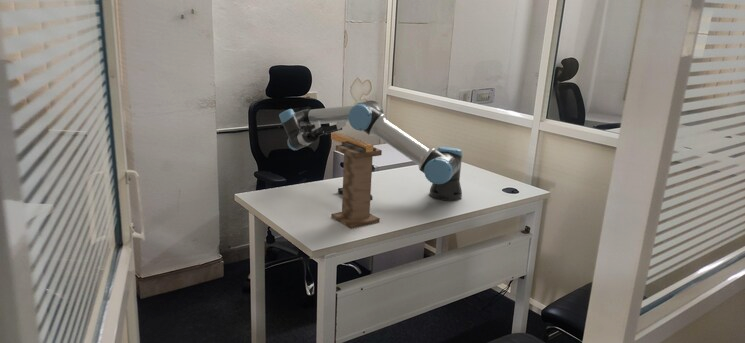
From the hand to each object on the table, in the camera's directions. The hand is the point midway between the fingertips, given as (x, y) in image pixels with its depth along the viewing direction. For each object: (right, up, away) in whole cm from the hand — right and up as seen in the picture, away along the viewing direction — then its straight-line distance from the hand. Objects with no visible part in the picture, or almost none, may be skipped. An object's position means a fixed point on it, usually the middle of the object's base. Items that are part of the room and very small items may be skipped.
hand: (332, 123), depth 237 cm
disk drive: (+9, -33, +10) cm, 36 cm away
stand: (+11, -41, -19) cm, 46 cm away
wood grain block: (+9, -11, -23) cm, 27 cm away
